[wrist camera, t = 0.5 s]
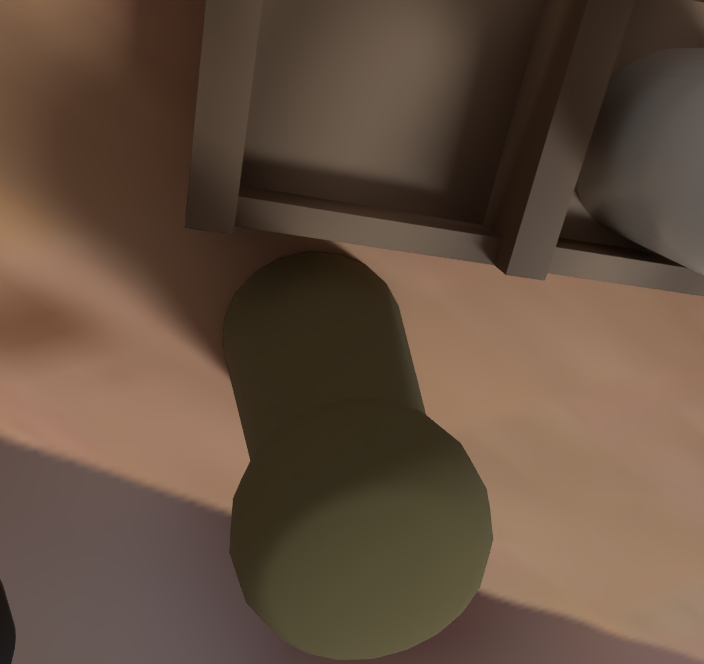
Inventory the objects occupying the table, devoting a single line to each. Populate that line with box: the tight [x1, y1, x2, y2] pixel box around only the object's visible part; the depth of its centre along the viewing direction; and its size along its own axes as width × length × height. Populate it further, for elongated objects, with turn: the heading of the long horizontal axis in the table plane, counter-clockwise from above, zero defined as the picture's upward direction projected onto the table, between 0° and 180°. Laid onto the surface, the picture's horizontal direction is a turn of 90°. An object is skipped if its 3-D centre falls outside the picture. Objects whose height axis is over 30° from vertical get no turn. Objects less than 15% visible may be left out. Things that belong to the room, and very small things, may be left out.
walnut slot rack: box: [185, 0, 704, 296], centre depth 18 cm, size 19×8×3 cm, turn 79°
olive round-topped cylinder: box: [222, 251, 493, 660], centre depth 16 cm, size 6×6×11 cm
